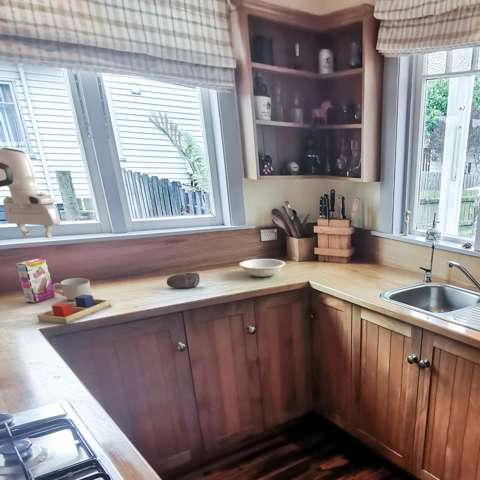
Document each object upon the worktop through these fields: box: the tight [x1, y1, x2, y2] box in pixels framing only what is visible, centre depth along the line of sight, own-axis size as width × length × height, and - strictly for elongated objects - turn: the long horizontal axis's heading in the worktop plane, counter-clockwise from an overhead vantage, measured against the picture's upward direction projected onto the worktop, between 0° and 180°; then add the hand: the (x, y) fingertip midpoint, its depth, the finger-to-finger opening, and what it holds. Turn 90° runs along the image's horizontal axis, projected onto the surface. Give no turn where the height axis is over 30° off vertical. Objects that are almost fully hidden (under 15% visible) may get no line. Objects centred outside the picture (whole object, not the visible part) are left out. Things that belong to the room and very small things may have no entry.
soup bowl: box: [238, 258, 286, 278], centre depth 249 cm, size 24×24×7 cm
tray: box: [37, 298, 112, 325], centre depth 185 cm, size 12×24×2 cm, turn 169°
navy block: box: [74, 294, 95, 308], centre depth 189 cm, size 4×4×4 cm
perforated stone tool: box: [166, 272, 201, 289], centre depth 222 cm, size 15×5×7 cm, turn 108°
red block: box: [51, 302, 73, 317], centre depth 179 cm, size 4×4×4 cm
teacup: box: [52, 277, 92, 302], centre depth 201 cm, size 14×11×8 cm
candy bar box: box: [15, 258, 56, 304], centre depth 197 cm, size 11×5×16 cm, turn 172°
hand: (37, 236), depth 175 cm, fingers open, 8 cm apart
